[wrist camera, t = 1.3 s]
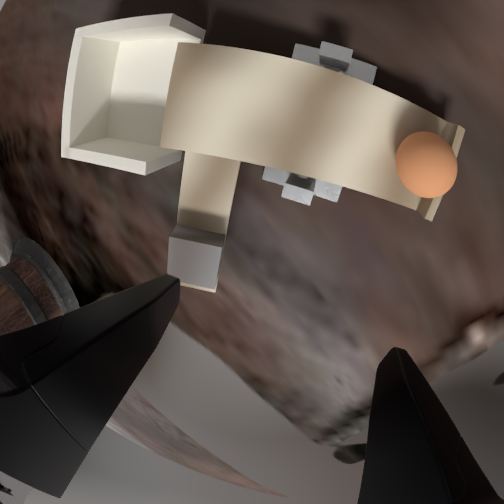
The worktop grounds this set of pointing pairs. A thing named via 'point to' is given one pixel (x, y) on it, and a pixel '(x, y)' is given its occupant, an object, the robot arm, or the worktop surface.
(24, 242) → the tankard
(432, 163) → the ball
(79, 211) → the worktop surface
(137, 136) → the tray
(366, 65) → the fulcrum
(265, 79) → the lever
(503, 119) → the worktop surface
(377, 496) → the robot arm
